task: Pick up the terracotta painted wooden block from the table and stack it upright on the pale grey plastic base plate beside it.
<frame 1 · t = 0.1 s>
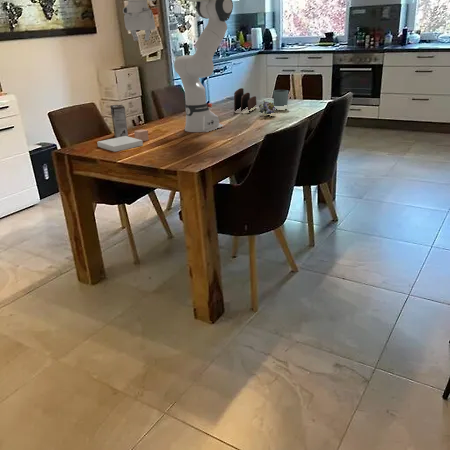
hand: (141, 40, 224), 48 cm above the table, tool pointing down, fingers open, 8 cm apart
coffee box: (121, 136, 254), on the table
base plate: (120, 146, 234), on the table
letter holder: (245, 111, 312), on the table
grey tapered pot: (280, 109, 311), on the table
passion flower: (266, 116, 291), on the table
terracotta block: (141, 140, 244), on the table
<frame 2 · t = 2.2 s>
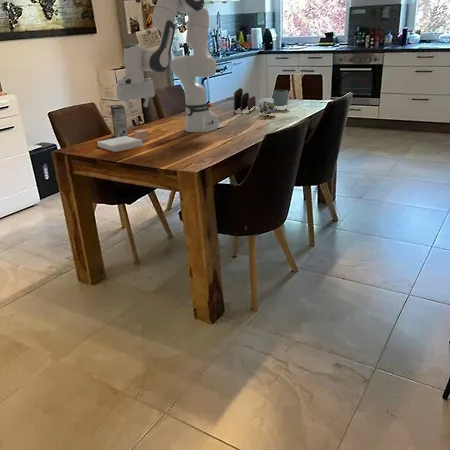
hand: (137, 107, 237), 16 cm above the table, tool pointing down, fingers open, 8 cm apart
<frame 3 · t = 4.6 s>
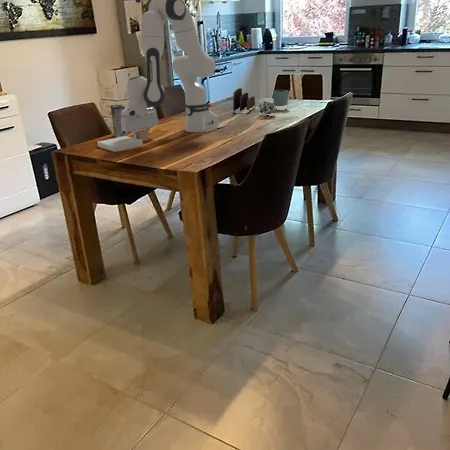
hand: (141, 137, 243), 2 cm above the table, tool pointing down, fingers closed on terracotta block, 5 cm apart
terracotta block: (141, 140, 244), on the table, touching gripper
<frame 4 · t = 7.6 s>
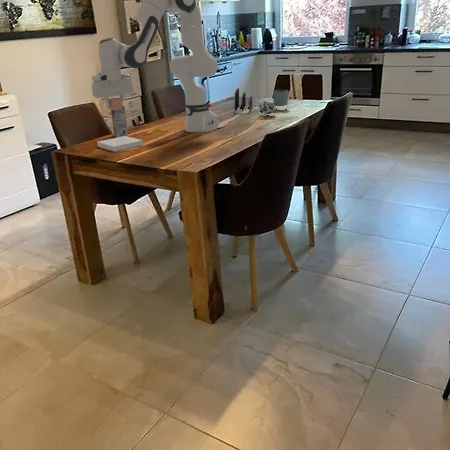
hand: (115, 105, 226), 20 cm above the table, tool pointing down, fingers closed on terracotta block, 5 cm apart
terracotta block: (115, 109, 227), point 18 cm above the table, touching gripper
when the fingers open (6 cm above the table, at t = 11.0 s): terracotta block drops 1 cm, resting on base plate.
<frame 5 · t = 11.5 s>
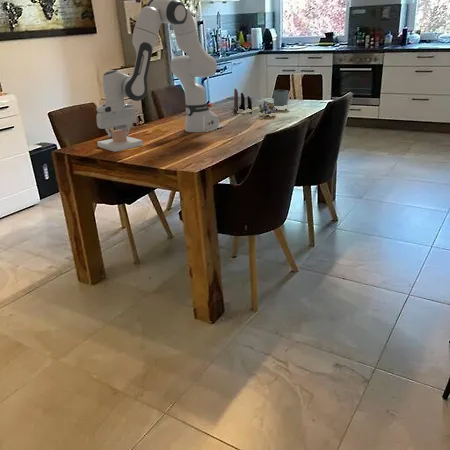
hand: (119, 134, 232), 6 cm above the table, tool pointing down, fingers open, 8 cm apart
terracotta block: (119, 141, 233), point 2 cm above the table, touching base plate
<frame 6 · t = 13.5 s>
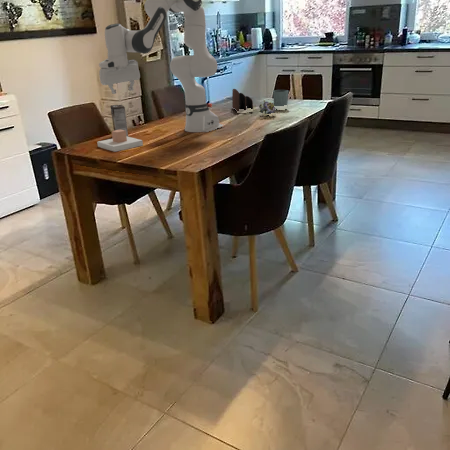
hand: (122, 92, 227), 25 cm above the table, tool pointing down, fingers open, 8 cm apart
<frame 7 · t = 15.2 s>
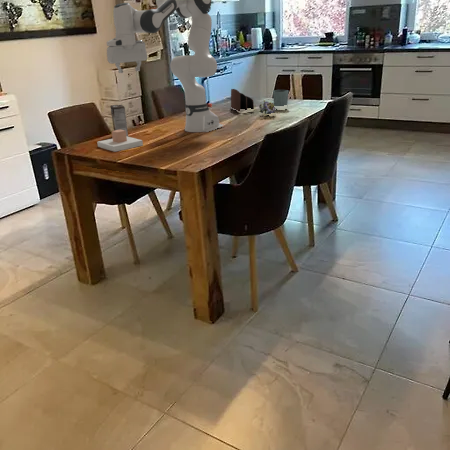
hand: (129, 72, 226), 34 cm above the table, tool pointing down, fingers open, 8 cm apart
at the end: terracotta block inside the target area on the base plate (0.1 cm from its centre), point 2.5 cm above the base plate's base; terracotta block tilted 0°; the gripper is holding nothing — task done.
